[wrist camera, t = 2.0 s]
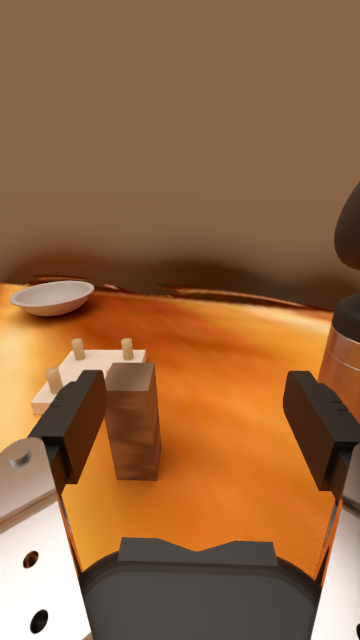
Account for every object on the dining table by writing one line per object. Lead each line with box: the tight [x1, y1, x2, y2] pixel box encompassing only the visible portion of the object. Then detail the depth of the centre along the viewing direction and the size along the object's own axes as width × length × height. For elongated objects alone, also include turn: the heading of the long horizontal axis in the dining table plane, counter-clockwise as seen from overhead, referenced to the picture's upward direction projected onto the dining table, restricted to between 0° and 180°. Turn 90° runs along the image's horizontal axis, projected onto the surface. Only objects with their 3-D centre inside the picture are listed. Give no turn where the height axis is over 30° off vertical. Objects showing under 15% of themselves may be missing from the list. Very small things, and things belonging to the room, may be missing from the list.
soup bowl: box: [9, 281, 94, 316], centre depth 82 cm, size 24×24×7 cm
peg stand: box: [31, 338, 146, 415], centre depth 48 cm, size 16×16×6 cm
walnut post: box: [104, 363, 161, 481], centre depth 31 cm, size 5×5×14 cm
